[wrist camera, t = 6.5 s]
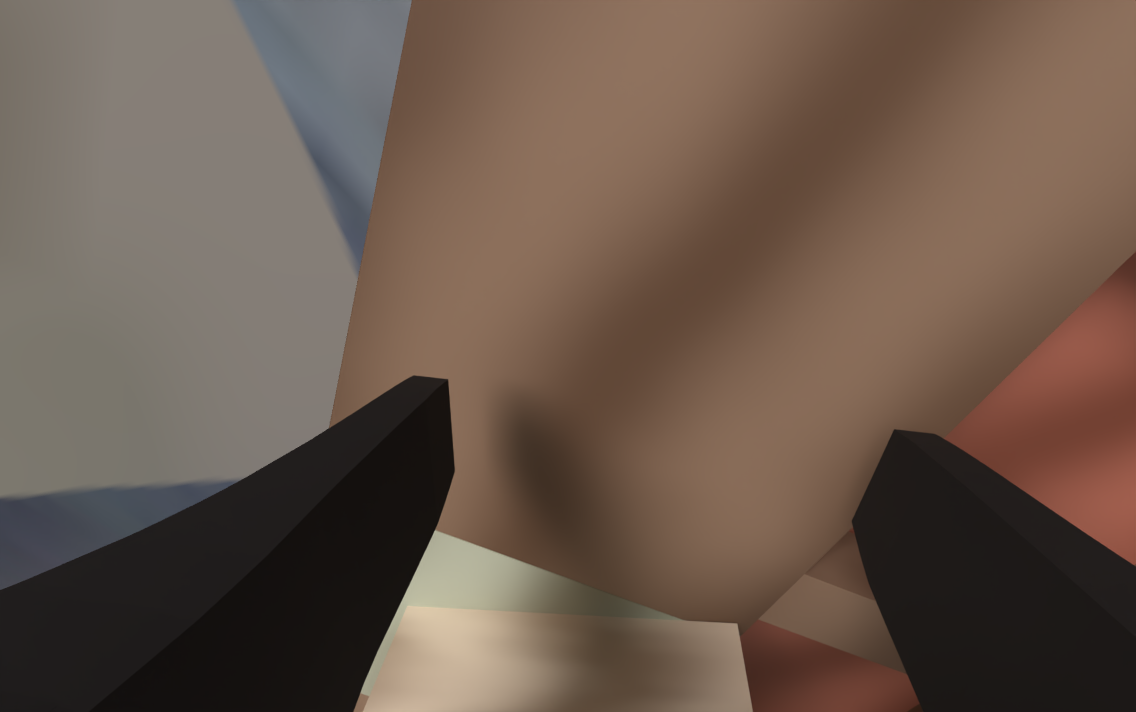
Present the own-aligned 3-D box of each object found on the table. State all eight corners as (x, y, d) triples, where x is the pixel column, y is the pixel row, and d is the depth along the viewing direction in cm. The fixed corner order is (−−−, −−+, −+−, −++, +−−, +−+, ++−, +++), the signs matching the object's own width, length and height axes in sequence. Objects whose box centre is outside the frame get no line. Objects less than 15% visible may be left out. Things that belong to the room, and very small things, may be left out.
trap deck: (1628, 246, 9) (1927, 304, 7) (789, 787, 22) (806, 866, 20) (544, -331, 7) (505, -489, 5) (315, 627, 20) (276, 695, 18)
